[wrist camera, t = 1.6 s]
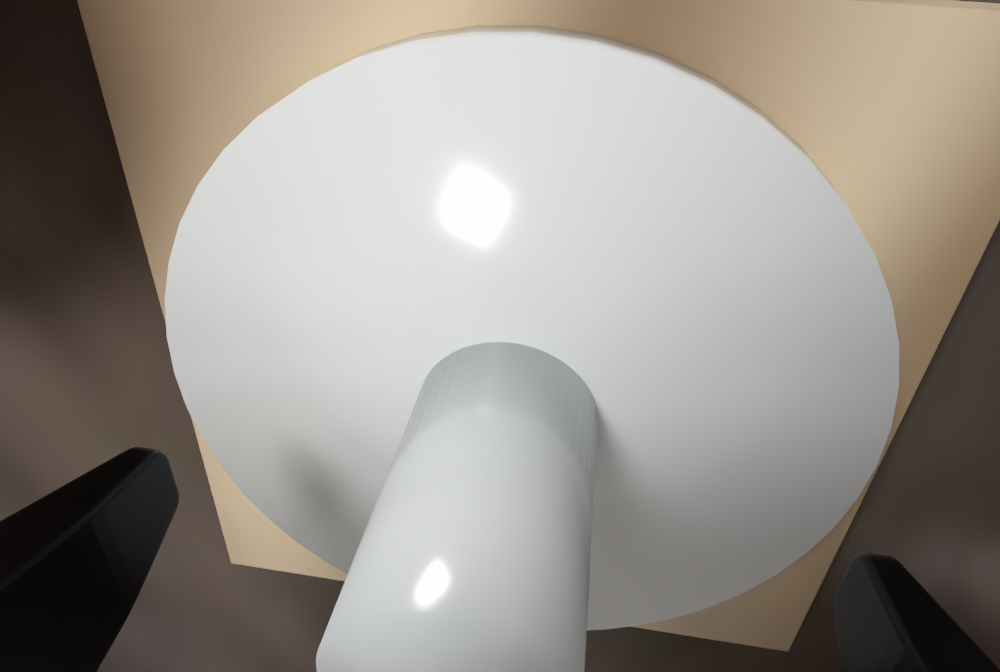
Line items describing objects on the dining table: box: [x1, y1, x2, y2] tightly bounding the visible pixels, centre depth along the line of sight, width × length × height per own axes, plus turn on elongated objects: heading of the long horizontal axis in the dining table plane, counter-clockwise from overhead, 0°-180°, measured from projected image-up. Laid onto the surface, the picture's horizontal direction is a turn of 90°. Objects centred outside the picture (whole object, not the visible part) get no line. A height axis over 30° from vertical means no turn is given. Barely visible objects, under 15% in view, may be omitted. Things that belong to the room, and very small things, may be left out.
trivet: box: [77, 0, 1000, 652], centre depth 12 cm, size 12×12×1 cm
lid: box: [165, 25, 899, 672], centre depth 9 cm, size 11×11×5 cm
